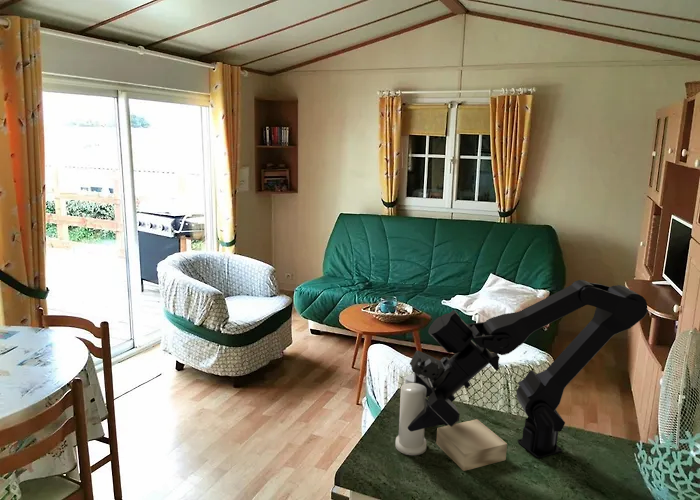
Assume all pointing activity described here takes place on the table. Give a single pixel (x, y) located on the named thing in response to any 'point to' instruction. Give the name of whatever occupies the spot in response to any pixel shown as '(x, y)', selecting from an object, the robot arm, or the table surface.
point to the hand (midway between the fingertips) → (405, 417)
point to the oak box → (471, 444)
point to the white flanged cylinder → (411, 419)
